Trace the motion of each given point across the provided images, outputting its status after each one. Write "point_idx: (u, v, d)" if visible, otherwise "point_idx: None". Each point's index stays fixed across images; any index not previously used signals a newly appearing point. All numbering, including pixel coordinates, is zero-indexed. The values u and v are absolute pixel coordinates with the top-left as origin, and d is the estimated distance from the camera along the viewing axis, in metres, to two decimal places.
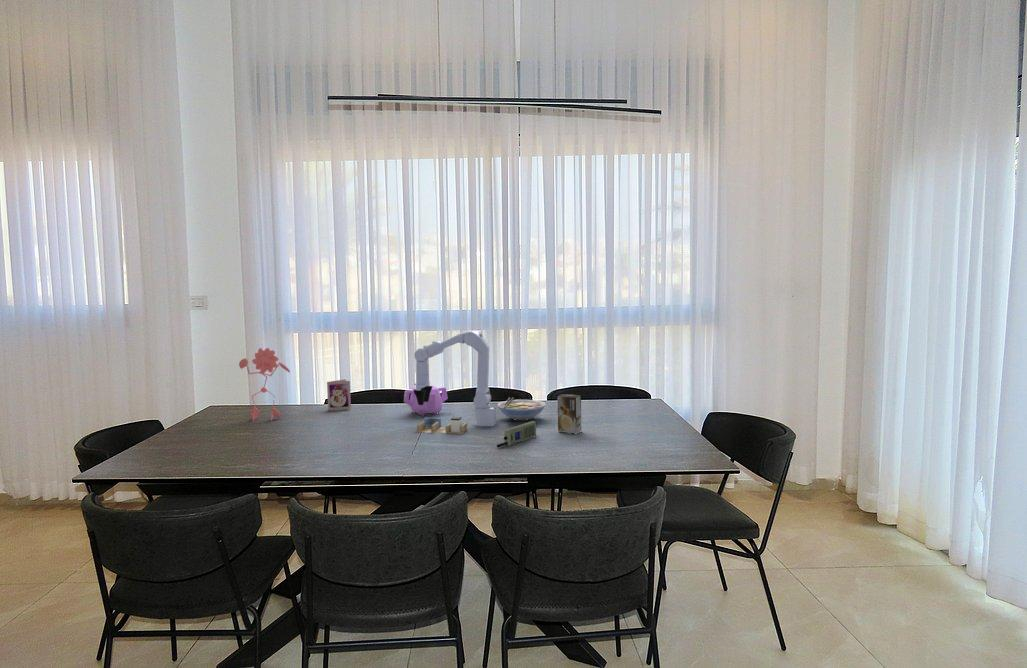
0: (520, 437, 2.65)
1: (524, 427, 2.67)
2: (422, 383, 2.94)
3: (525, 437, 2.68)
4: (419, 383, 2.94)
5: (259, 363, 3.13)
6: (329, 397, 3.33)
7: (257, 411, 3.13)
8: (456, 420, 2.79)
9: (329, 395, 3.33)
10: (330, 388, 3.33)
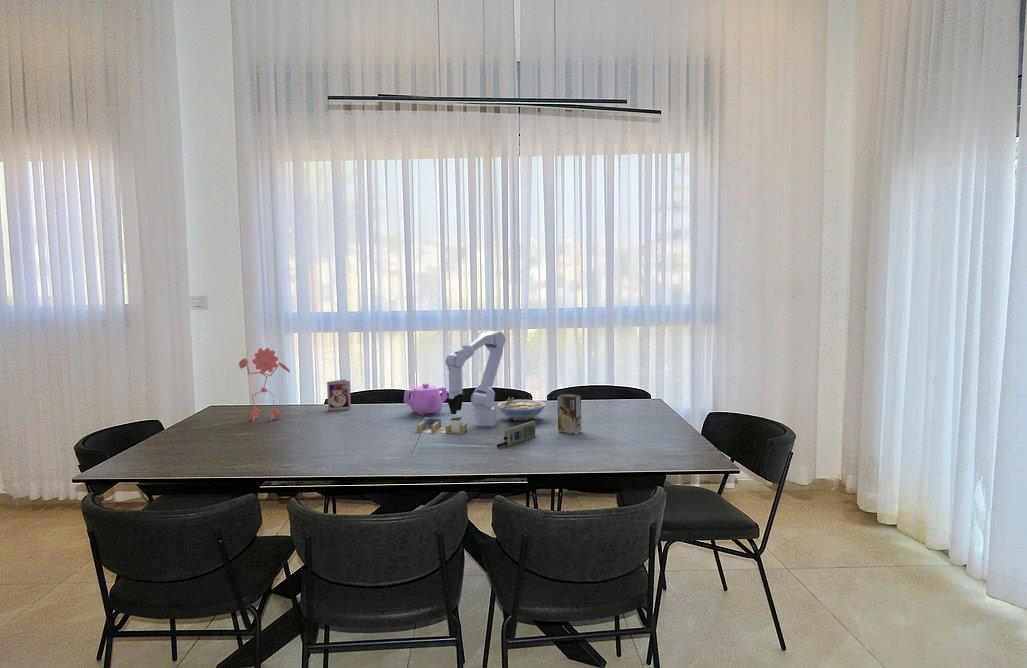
0: (520, 437, 2.65)
1: (524, 427, 2.67)
2: (455, 391, 2.77)
3: (524, 437, 2.68)
4: (452, 391, 2.77)
5: (259, 363, 3.13)
6: (329, 397, 3.33)
7: (257, 411, 3.13)
8: (456, 420, 2.79)
9: (329, 395, 3.33)
10: (330, 388, 3.33)
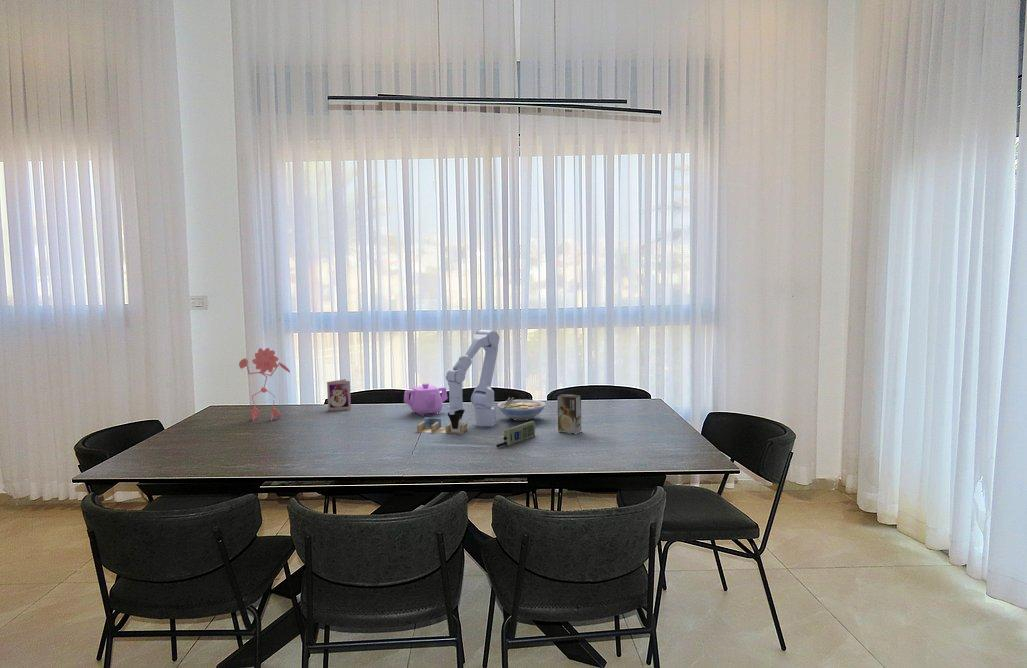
0: (519, 437, 2.65)
1: (523, 427, 2.67)
2: (455, 406, 2.77)
3: (524, 437, 2.68)
4: (452, 406, 2.77)
5: (259, 363, 3.13)
6: (329, 397, 3.33)
7: (257, 411, 3.13)
8: None
9: (329, 395, 3.33)
10: (330, 388, 3.33)
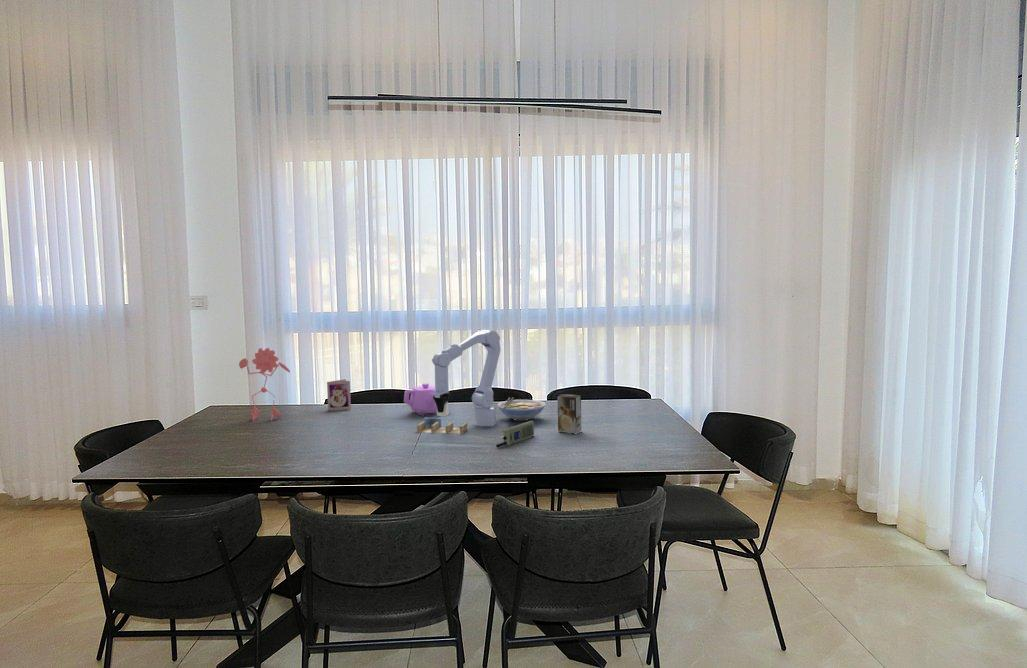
0: (519, 437, 2.65)
1: (523, 427, 2.68)
2: (441, 390, 2.77)
3: (523, 437, 2.68)
4: (438, 390, 2.78)
5: (259, 363, 3.13)
6: (329, 397, 3.33)
7: (257, 411, 3.13)
8: None
9: (329, 395, 3.33)
10: (330, 388, 3.33)
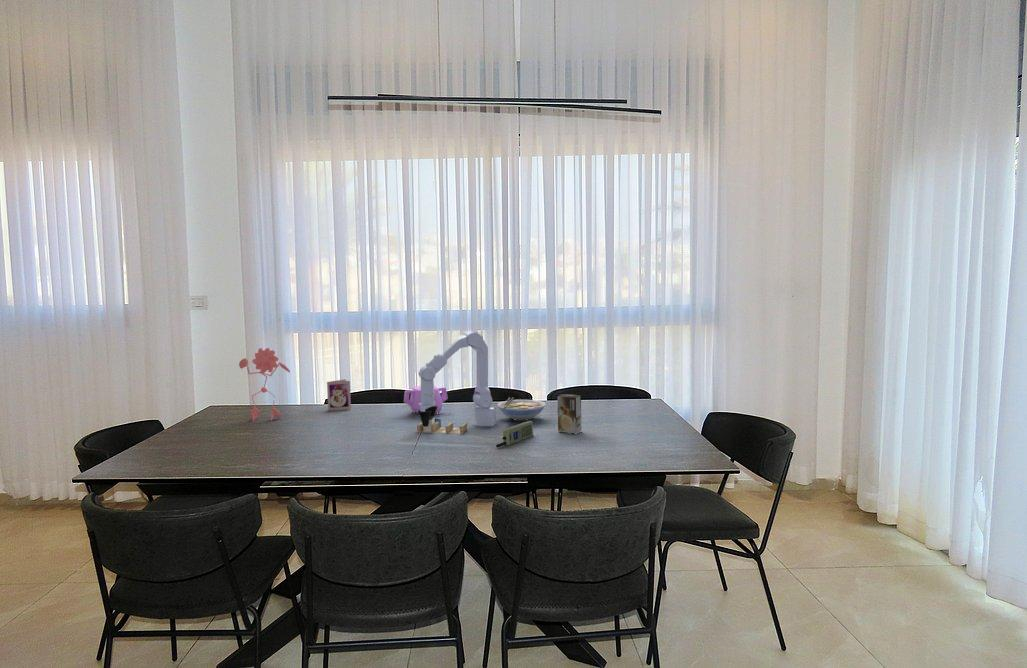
0: (518, 437, 2.65)
1: (522, 427, 2.68)
2: (427, 403, 2.79)
3: (523, 437, 2.68)
4: (424, 403, 2.80)
5: (259, 363, 3.13)
6: (329, 397, 3.33)
7: (257, 411, 3.13)
8: None
9: (329, 395, 3.33)
10: (330, 388, 3.33)
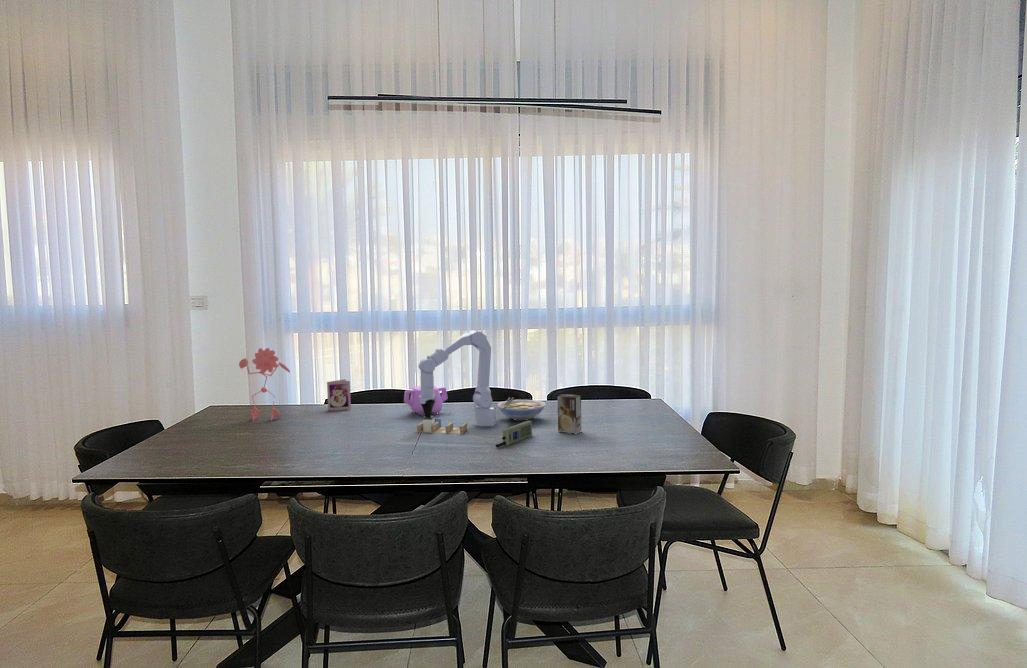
0: (518, 437, 2.65)
1: (521, 427, 2.68)
2: (427, 396, 2.79)
3: (522, 436, 2.68)
4: (423, 396, 2.79)
5: (259, 363, 3.13)
6: (329, 397, 3.33)
7: (257, 411, 3.13)
8: (428, 419, 2.81)
9: (329, 395, 3.33)
10: (330, 388, 3.33)
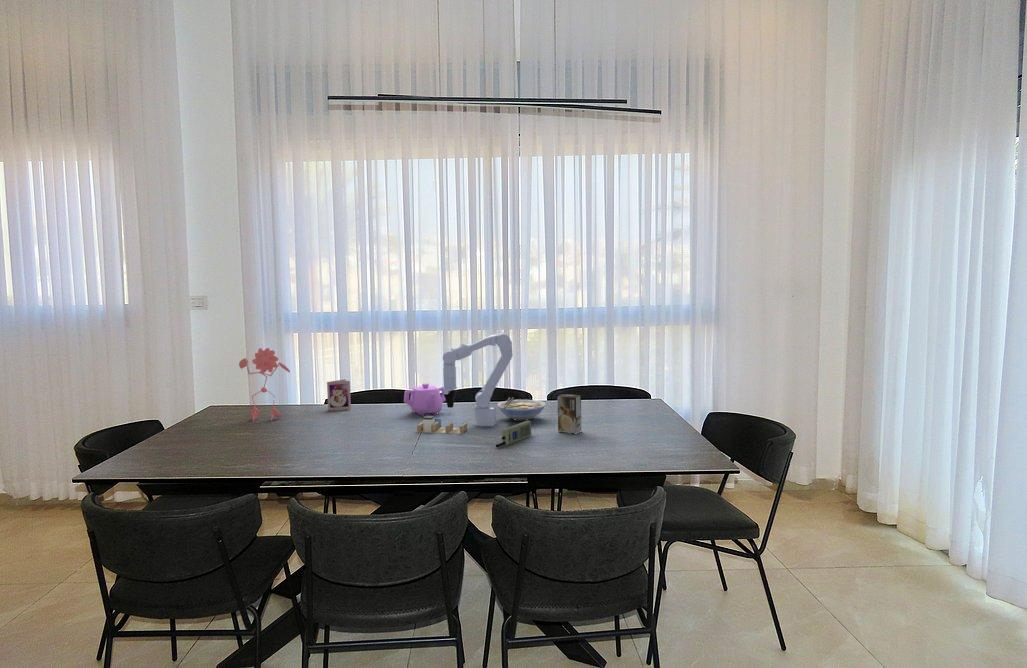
0: (517, 437, 2.65)
1: (520, 427, 2.68)
2: (449, 387, 2.87)
3: (521, 436, 2.69)
4: (446, 387, 2.88)
5: (259, 363, 3.13)
6: (329, 397, 3.33)
7: (257, 411, 3.13)
8: (428, 419, 2.81)
9: (329, 395, 3.33)
10: (330, 388, 3.33)
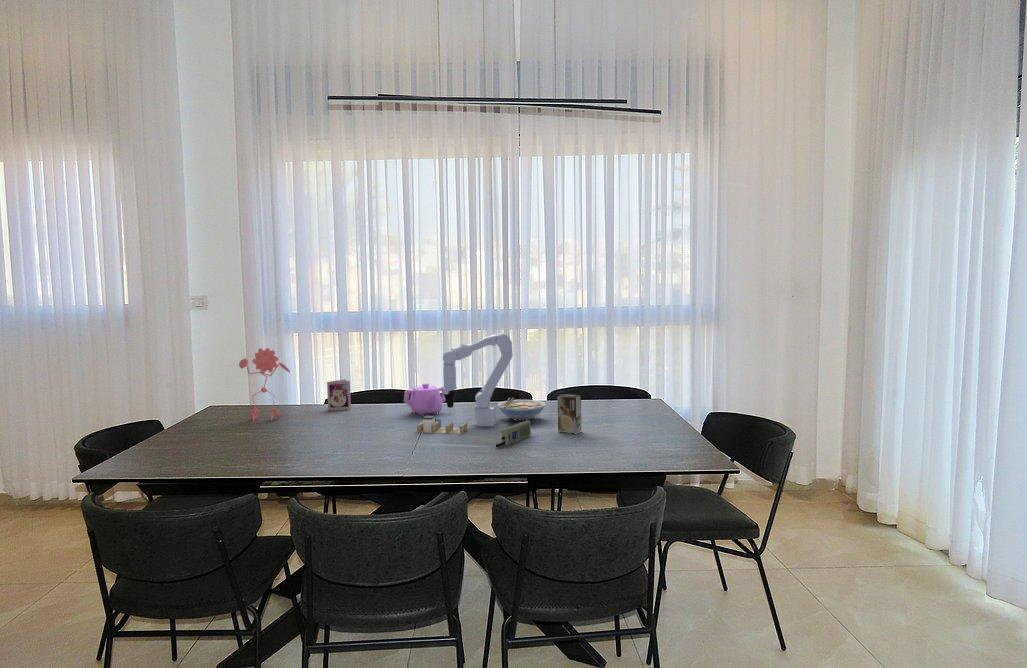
0: (517, 436, 2.65)
1: (520, 426, 2.68)
2: (449, 387, 2.87)
3: (521, 436, 2.69)
4: (446, 387, 2.88)
5: (259, 363, 3.13)
6: (329, 397, 3.33)
7: (257, 411, 3.13)
8: (428, 419, 2.81)
9: (329, 395, 3.33)
10: (330, 388, 3.33)
